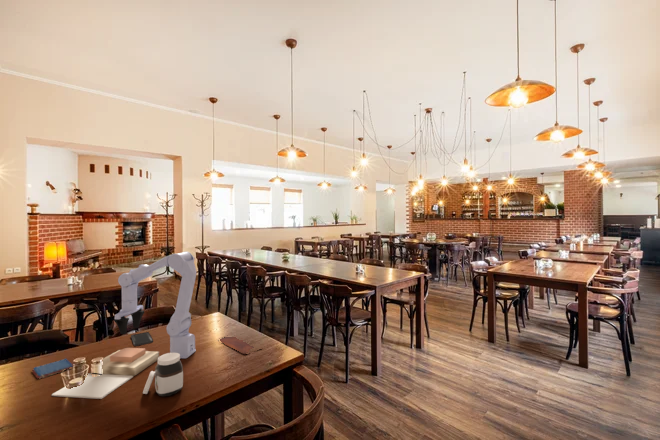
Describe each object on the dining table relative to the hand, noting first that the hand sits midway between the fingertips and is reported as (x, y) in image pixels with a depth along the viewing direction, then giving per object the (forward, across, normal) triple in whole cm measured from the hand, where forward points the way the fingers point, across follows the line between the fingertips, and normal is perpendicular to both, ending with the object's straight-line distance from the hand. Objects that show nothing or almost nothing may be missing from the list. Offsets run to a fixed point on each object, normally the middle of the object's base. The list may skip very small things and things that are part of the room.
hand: (129, 330), depth 136 cm
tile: (+7, +11, +8) cm, 15 cm away
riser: (+10, +12, +8) cm, 17 cm away
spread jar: (+10, +28, +34) cm, 45 cm away
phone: (+10, -14, -5) cm, 18 cm away
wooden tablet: (+11, -14, +44) cm, 47 cm away
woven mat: (+10, +18, -18) cm, 27 cm away
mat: (+10, +27, +8) cm, 29 cm away
